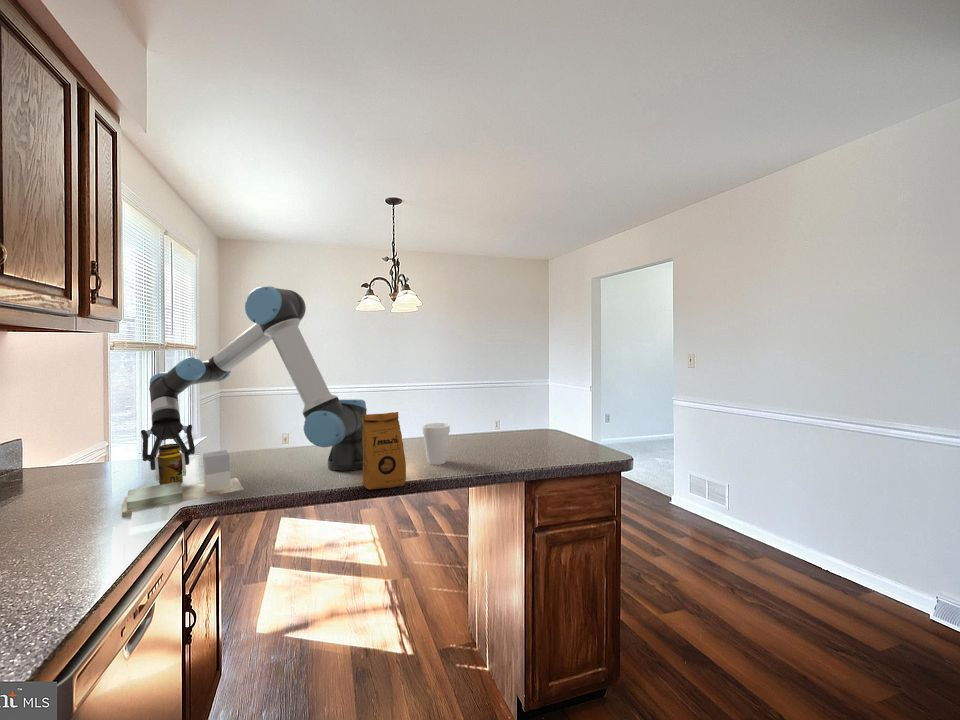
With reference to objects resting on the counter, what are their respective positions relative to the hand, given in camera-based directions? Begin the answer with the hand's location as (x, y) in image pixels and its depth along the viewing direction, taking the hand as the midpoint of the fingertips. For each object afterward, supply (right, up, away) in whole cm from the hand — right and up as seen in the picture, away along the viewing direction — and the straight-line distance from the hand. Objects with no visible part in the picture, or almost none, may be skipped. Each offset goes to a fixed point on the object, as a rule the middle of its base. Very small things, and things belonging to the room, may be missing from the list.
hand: (171, 475), depth 139 cm
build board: (+8, -4, -7) cm, 12 cm away
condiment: (-3, -4, +3) cm, 5 cm away
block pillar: (+15, -3, -2) cm, 15 cm away
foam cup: (+77, -2, +26) cm, 81 cm away
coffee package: (+63, -3, 0) cm, 63 cm away
